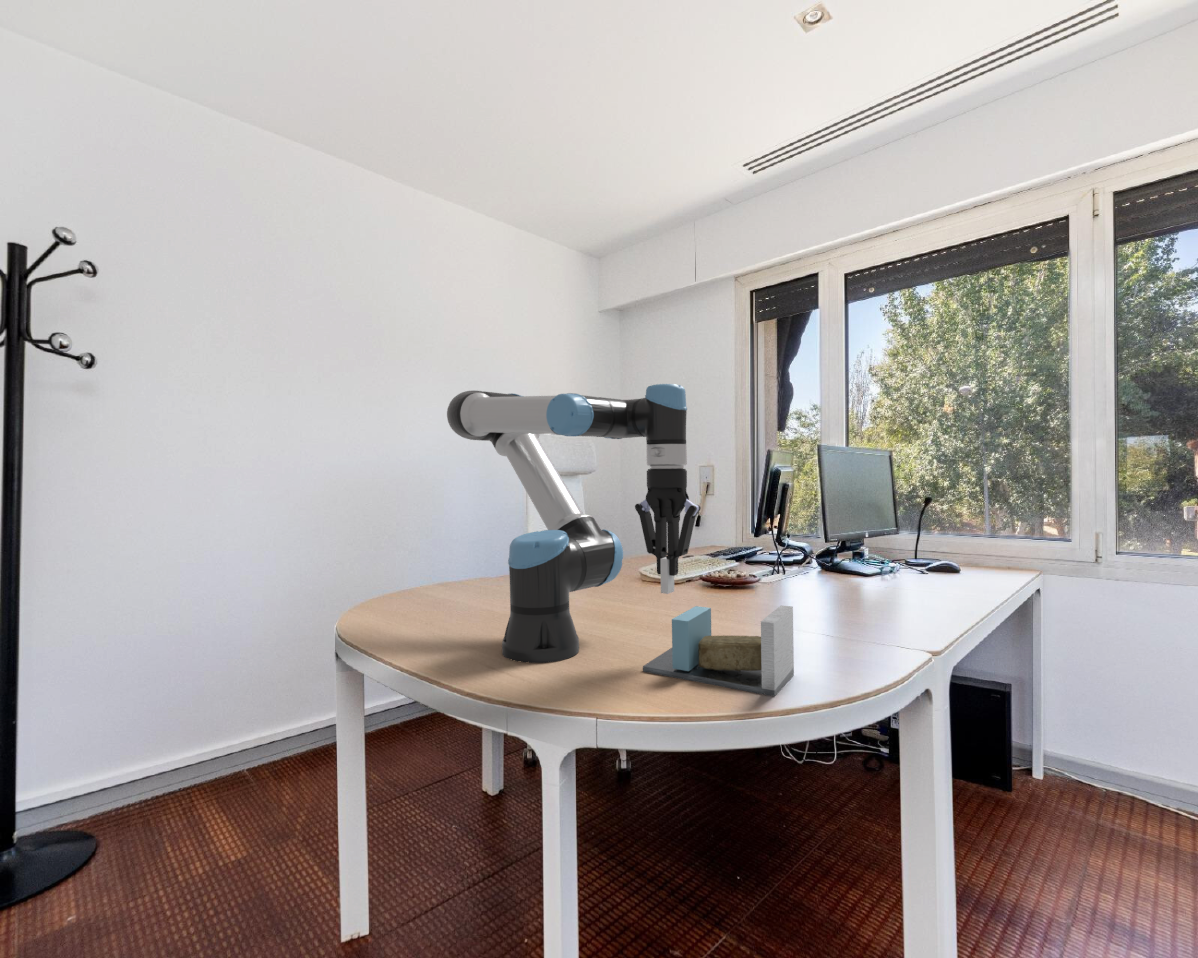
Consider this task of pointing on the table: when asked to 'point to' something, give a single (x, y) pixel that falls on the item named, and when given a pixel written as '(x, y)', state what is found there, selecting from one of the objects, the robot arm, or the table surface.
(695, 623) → the sliding jaw
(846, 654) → the table surface
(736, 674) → the vise bed
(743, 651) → the stone block
